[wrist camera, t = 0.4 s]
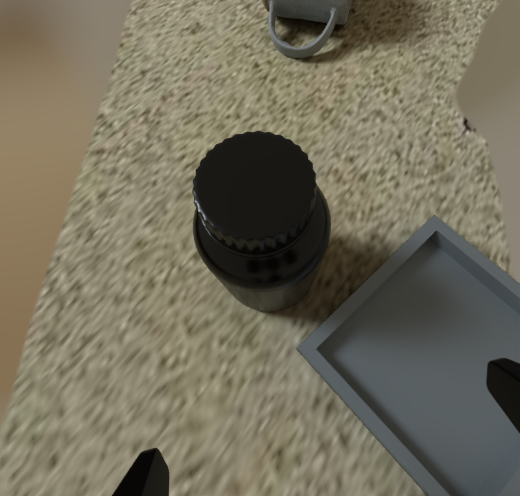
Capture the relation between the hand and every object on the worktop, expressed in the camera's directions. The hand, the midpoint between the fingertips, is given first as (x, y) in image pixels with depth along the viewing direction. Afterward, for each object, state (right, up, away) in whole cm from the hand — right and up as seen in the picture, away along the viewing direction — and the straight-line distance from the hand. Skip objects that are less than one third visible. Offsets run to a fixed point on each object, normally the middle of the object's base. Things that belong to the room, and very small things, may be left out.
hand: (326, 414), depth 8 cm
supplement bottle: (-1, +3, +15) cm, 15 cm away
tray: (+10, -3, +12) cm, 16 cm away
